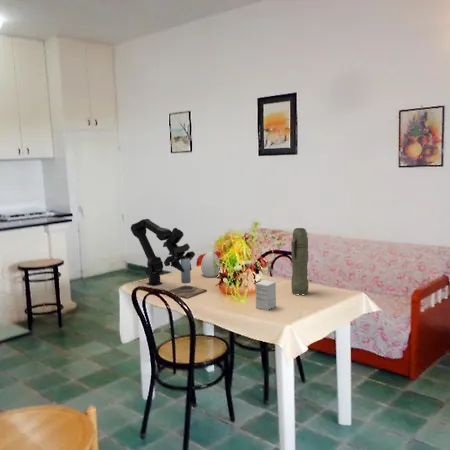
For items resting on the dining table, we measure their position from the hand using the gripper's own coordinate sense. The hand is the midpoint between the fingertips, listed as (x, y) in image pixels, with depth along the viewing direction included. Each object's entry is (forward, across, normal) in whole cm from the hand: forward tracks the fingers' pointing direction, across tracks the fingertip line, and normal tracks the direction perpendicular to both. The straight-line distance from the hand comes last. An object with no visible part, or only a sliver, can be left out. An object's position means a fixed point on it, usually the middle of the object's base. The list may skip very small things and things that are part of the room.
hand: (187, 270), depth 266 cm
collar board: (+8, 0, +10) cm, 13 cm away
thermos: (+42, +38, -24) cm, 62 cm away
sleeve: (+4, 0, +6) cm, 7 cm away
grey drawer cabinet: (+43, +8, -25) cm, 50 cm away
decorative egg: (-3, +34, +21) cm, 40 cm away
